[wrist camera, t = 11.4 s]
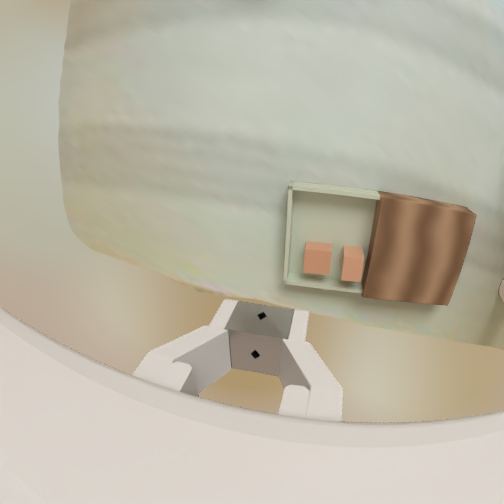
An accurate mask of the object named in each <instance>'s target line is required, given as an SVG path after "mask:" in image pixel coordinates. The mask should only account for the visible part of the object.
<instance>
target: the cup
mask: <svg viewBox="0 0 504 504" xmlns="http://www.w3.org/2000/svg"><path fill="white" fill-rule="evenodd" d="M499 294H500V297H501V299H502V301H503V303H504V280H503V281H502V283H501V285H500V288H499Z"/></svg>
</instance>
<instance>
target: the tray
mask: <svg viewBox="0 0 504 504" xmlns="http://www.w3.org/2000/svg"><path fill="white" fill-rule="evenodd" d="M376 200H380V195H379V193H378V192H377V191H374V190H367V189H359V188H352V187H343V186H335V185H326V184H316V183H306V182H295V181H291V182H290V184H289V185H288V205H287V225H286V243H285V259H284V274H283V284H288V285H296V286H304V287H311V288H319V289H327V290H335V291H344V292H352V293H361V294H362V291H363V290H362V283H361V282H362V278H363V273H364V268H365V264H366V259H367V254H368V249H369V243H370V238H371V232H372V226H373V220H374V214H375V207H376ZM307 241H310V242H323V243H332V254H331V263H330V273H329V275H322V274H311V273H304V256H305V246H306V242H307ZM343 245H348V246H360V247H362V249H363V254H364V264H363V270H362V276H361V282H355V281H343V280H341V262H342V254H343Z"/></svg>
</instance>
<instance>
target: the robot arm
mask: <svg viewBox="0 0 504 504" xmlns="http://www.w3.org/2000/svg"><path fill="white" fill-rule="evenodd" d="M309 312H310V311H309V310H305V309H290V308H282V307H274V306H267V305H261V304H255V303H249V302H243V301H236V300H230V299H225V300H223V302H222V304H221V306H220V307H219V309H218V311H217V312H216V314H215V316H214V317H213V319H212V321H211V322H210V324H209V326H202V327H200V328H198V329H196V330H194V331H192V332H190V333H188V334H186V335H184V336H182V337H179V338H177V339H175V340H173V341H171V342H169V343H167V344H165V345H163V346H160V347H158V348H156V349H154V350H152V351H149V352H148V354H147V355H146V356H145V358H144V359H143V361H142V362H141V363H140V365H139V366H138V368H137V369H136V370H135V372H134V373H133V374H132V375H130V374H128V373H125V372H123V371H120V370H118V369H115V368H113V367H110V366H108V365H106V364H103V363H101V362H99V361H97V360H94V359H92V358H90V357H88V356H86V355H84V354H82V353H79V352H77V351H75V350H73V349H71V348H69V347H67V346H65V345H63V344H61V343H60V342H58V341H56V340H54V339H52V338H50V337H48V336H46V335H45V334H43V333H41V332H40V331H38V330H36V329H34V328H33V327H31V326H29V325H28V324H26V323H24V322H23V321H21V320H19V319H18V318H16V317H14V316H13V315H12V314H10V313H9V312H7V311H6V310H4V309H3V308H1V307H0V504H504V410H502V411H497V412H492V413H487V414H482V415H476V416H469V417H462V418H455V419H446V420H436V421H423V422H403V423H402V422H401V423H367V422H345V421H341V418H342V400H343V389H342V387H341V386H340V384H339V383H338V382H337V380H336V379H335V378H334V376H333V375H332V373H331V372H330V370H329V369H328V368H327V366H326V365H325V363H324V362H323V361H322V359H321V358H320V356H319V355H318V354H317V352H316V351H315V349H314V348H313V347H312V345H311V344H310V342H305V340H306V333H307V326H308V318H309ZM231 368H234V369H240V370H246V371H252V372H258V373H263V374H268V375H273V376H279V378H280V381H281V383H282V385H283V388H284V394H283V398H282V402H281V406H280V410H279V413H278V414H273V413H267V412H262V411H257V410H251V409H246V408H242V407H237V406H232V405H228V404H224V403H220V402H215V401H211V400H208V399H204V398H200V397H199V393H200V392H201V391H203V390H204V389H205V388H207V387H208V386H210V385H211V384H212V383H214V382H215V381H216V380H218V379H219V378H221V377H222V376H223V375H225V374H226V373H227V372H229V371H230V370H231Z"/></svg>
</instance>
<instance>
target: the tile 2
mask: <svg viewBox="0 0 504 504" xmlns="http://www.w3.org/2000/svg"><path fill="white" fill-rule="evenodd" d="M363 264H364V254H363V249H362V247H360V246H348V245H343V254H342V262H341V280H343V281H355V282H361V276H362V270H363Z"/></svg>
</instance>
